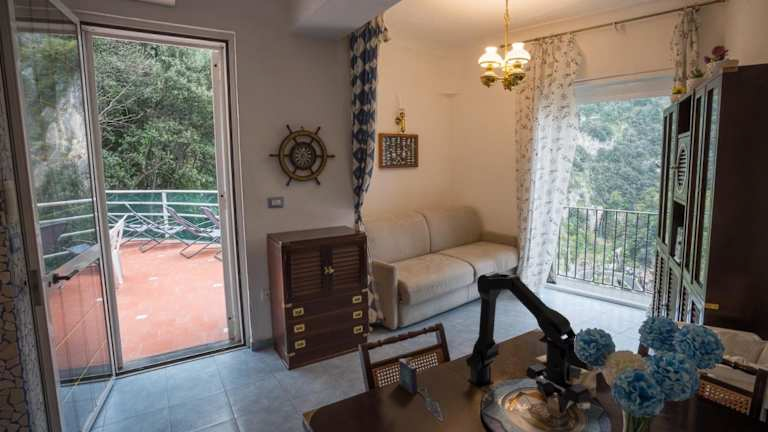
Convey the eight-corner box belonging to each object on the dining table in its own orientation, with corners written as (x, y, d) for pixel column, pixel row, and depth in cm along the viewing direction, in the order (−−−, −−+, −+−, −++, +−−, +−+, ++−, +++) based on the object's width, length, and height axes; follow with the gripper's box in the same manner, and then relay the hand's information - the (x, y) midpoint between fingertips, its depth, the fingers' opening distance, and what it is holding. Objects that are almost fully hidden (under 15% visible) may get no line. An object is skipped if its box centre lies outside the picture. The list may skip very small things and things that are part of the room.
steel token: (584, 412, 123) (584, 407, 122) (572, 405, 126) (572, 401, 126) (592, 408, 124) (592, 403, 124) (581, 401, 128) (581, 397, 128)
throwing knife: (426, 388, 140) (426, 386, 140) (449, 421, 121) (449, 419, 121) (414, 390, 139) (414, 388, 139) (435, 424, 120) (435, 422, 120)
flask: (398, 383, 144) (397, 354, 143) (405, 381, 145) (404, 352, 144) (413, 395, 136) (412, 364, 135) (420, 392, 137) (419, 362, 136)
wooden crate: (571, 407, 125) (572, 376, 124) (534, 386, 138) (534, 358, 137) (597, 397, 130) (598, 367, 129) (559, 377, 143) (559, 350, 142)
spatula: (558, 418, 119) (558, 402, 118) (547, 412, 122) (547, 397, 121) (586, 397, 129) (586, 382, 128) (575, 392, 131) (576, 378, 131)
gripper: (603, 365, 115) (603, 417, 116) (550, 342, 131) (550, 388, 133) (577, 375, 110) (576, 429, 111) (524, 349, 126) (525, 397, 128)
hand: (556, 409), depth 121 cm, fingers closed on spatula, 4 cm apart
